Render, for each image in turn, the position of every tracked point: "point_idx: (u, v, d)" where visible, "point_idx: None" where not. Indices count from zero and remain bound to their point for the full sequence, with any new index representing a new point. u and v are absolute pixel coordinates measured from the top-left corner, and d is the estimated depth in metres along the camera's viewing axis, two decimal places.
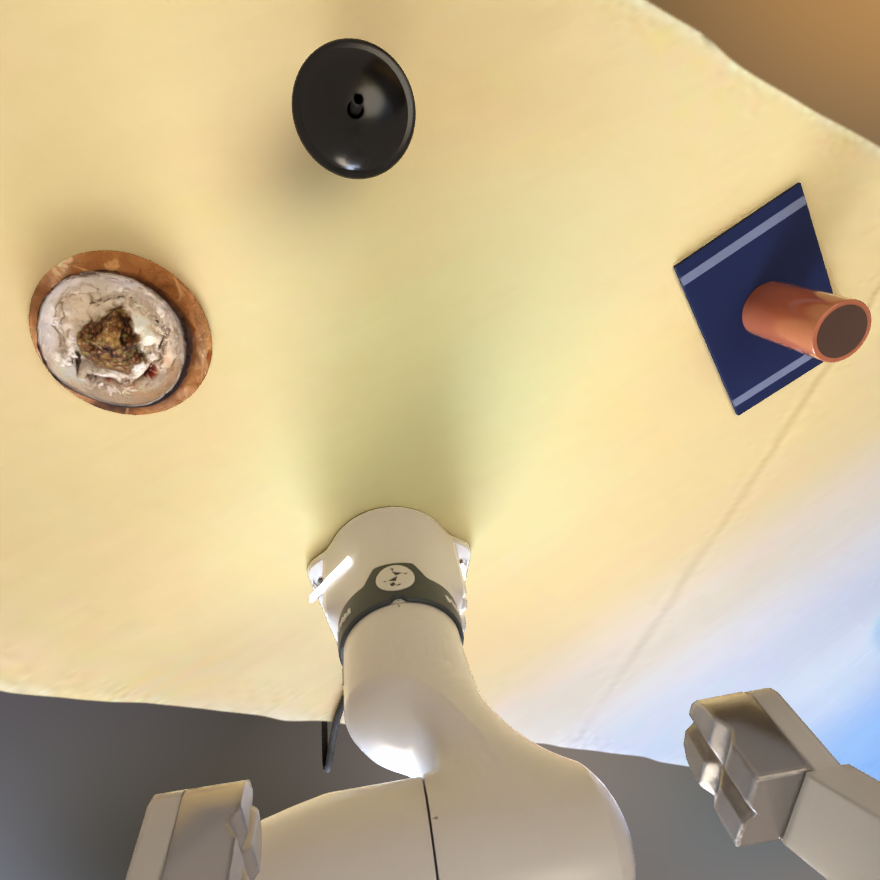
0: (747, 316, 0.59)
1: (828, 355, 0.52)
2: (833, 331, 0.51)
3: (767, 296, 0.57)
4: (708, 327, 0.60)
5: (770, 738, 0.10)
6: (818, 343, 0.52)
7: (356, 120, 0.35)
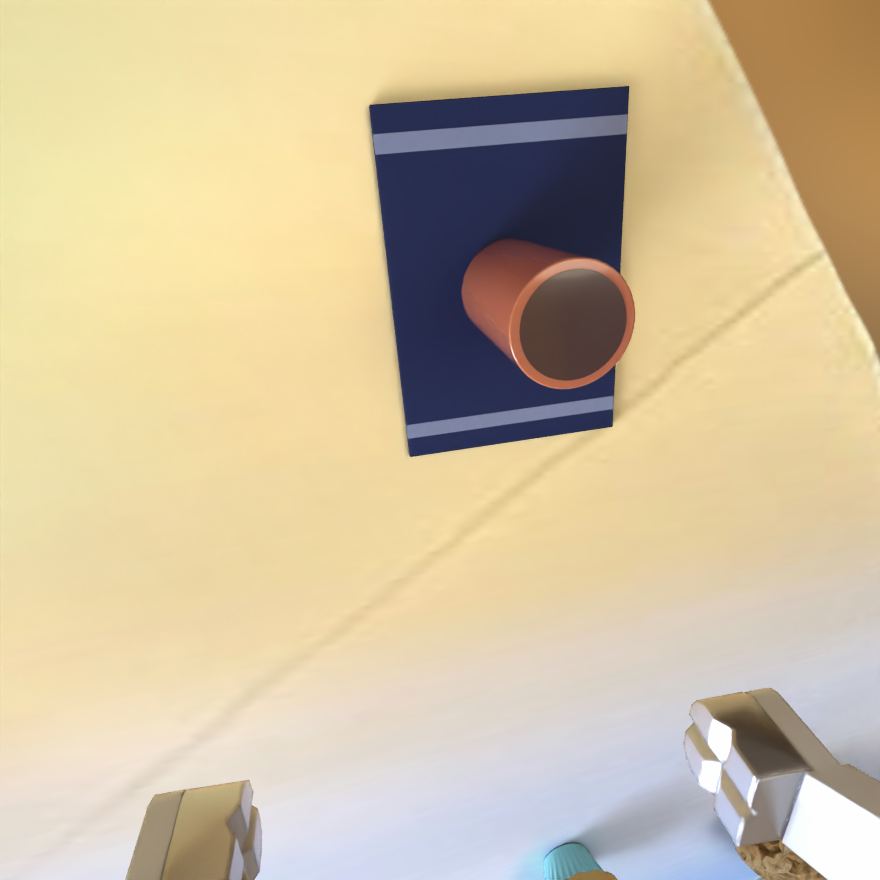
0: (468, 277, 0.32)
1: (534, 363, 0.25)
2: (558, 316, 0.25)
3: (503, 246, 0.30)
4: (400, 265, 0.32)
5: (770, 738, 0.10)
6: (522, 325, 0.24)
7: None
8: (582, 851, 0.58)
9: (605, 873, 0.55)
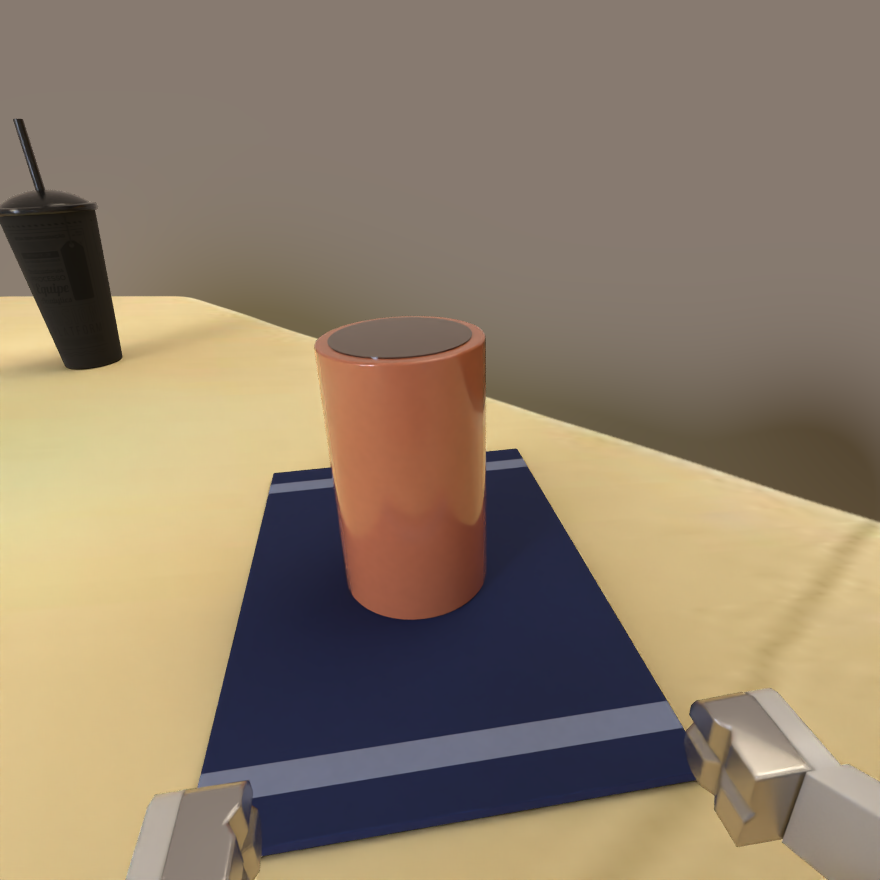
0: None
1: (347, 351, 0.18)
2: (379, 333, 0.20)
3: None
4: (268, 558, 0.25)
5: (770, 738, 0.10)
6: (332, 338, 0.19)
7: (33, 190, 0.47)
8: None
9: None
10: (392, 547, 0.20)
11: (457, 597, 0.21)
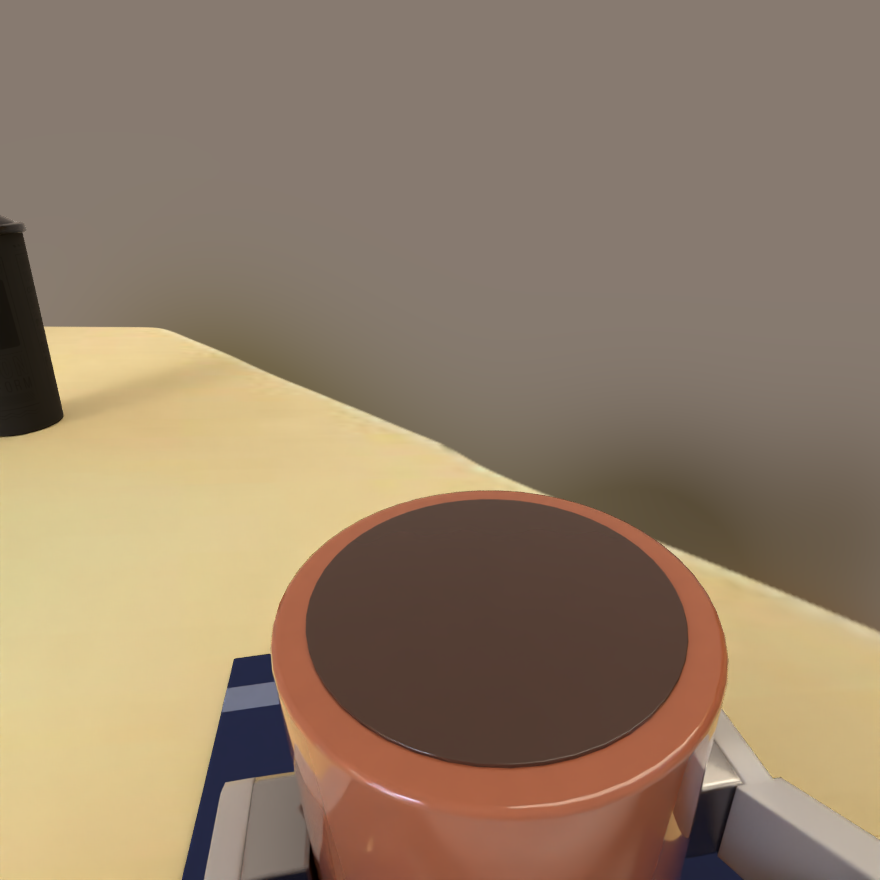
0: None
1: (360, 701, 0.06)
2: (435, 576, 0.08)
3: None
4: None
5: None
6: (319, 599, 0.08)
7: None
8: None
9: None
10: None
11: None
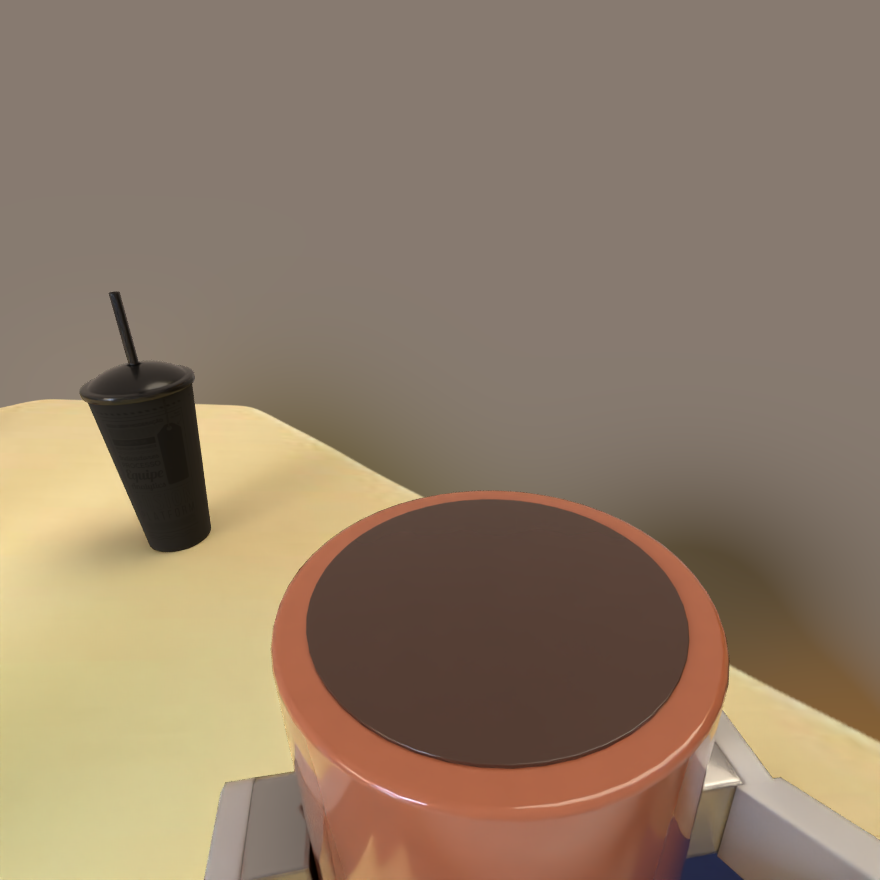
0: None
1: (360, 701, 0.06)
2: (436, 577, 0.08)
3: None
4: None
5: None
6: (319, 600, 0.08)
7: (127, 367, 0.41)
8: None
9: None
10: None
11: None
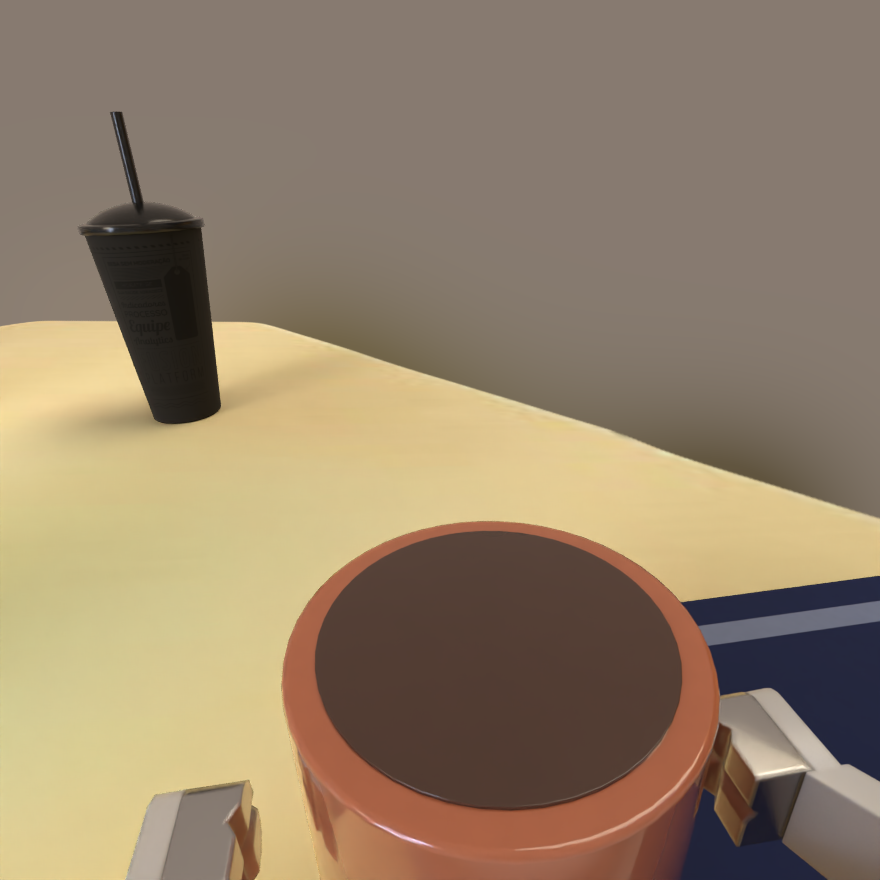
0: None
1: (367, 741, 0.06)
2: (439, 612, 0.08)
3: None
4: None
5: (770, 738, 0.10)
6: (327, 635, 0.08)
7: (130, 203, 0.37)
8: None
9: None
10: None
11: None
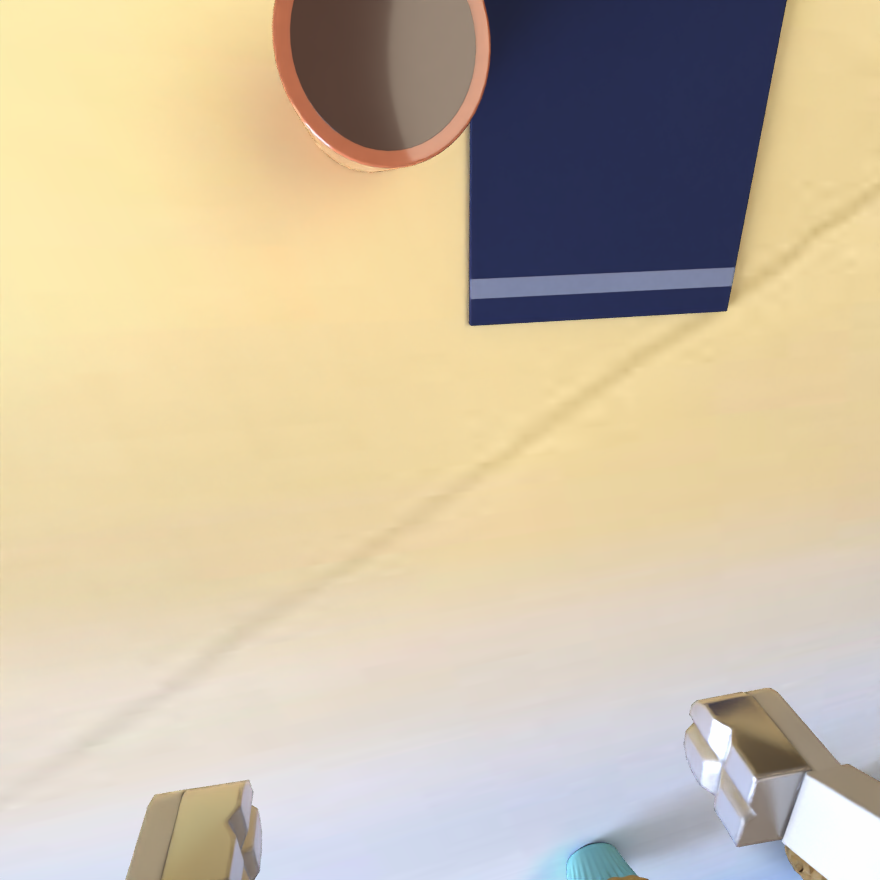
0: None
1: (322, 109, 0.15)
2: (357, 22, 0.15)
3: None
4: None
5: (770, 738, 0.10)
6: (294, 30, 0.15)
7: None
8: (613, 852, 0.49)
9: None
10: (351, 167, 0.22)
11: None
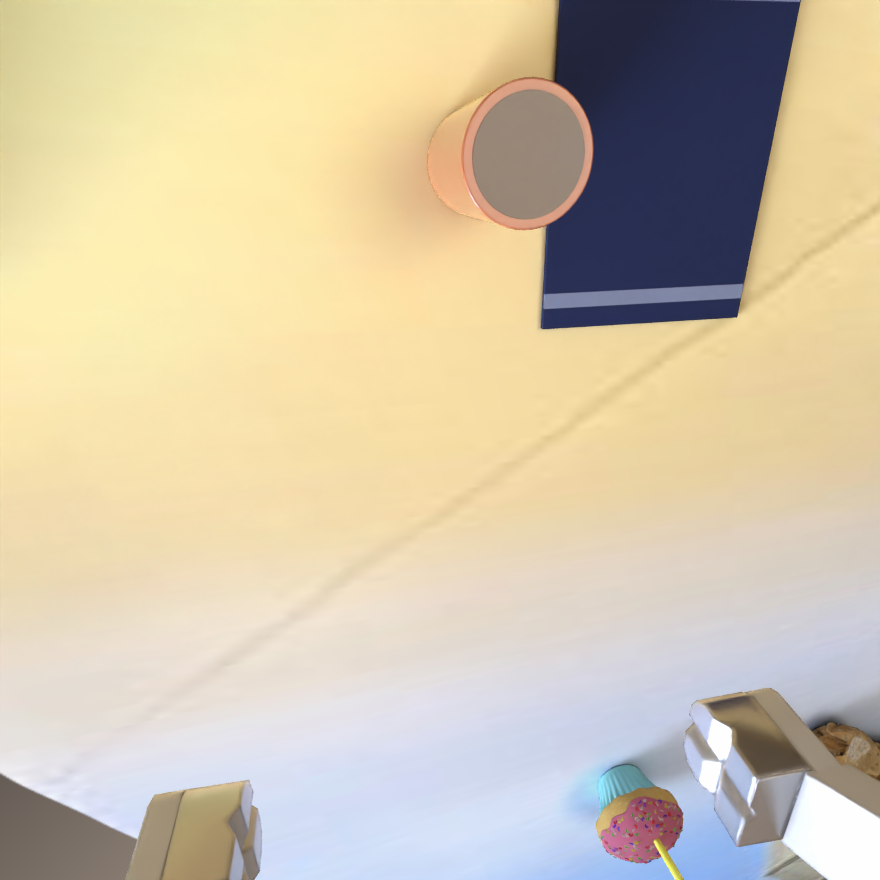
0: (433, 140, 0.31)
1: (487, 195, 0.24)
2: (513, 143, 0.24)
3: None
4: None
5: (770, 738, 0.10)
6: (475, 149, 0.24)
7: None
8: (638, 772, 0.58)
9: (664, 790, 0.55)
10: None
11: None
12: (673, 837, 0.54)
